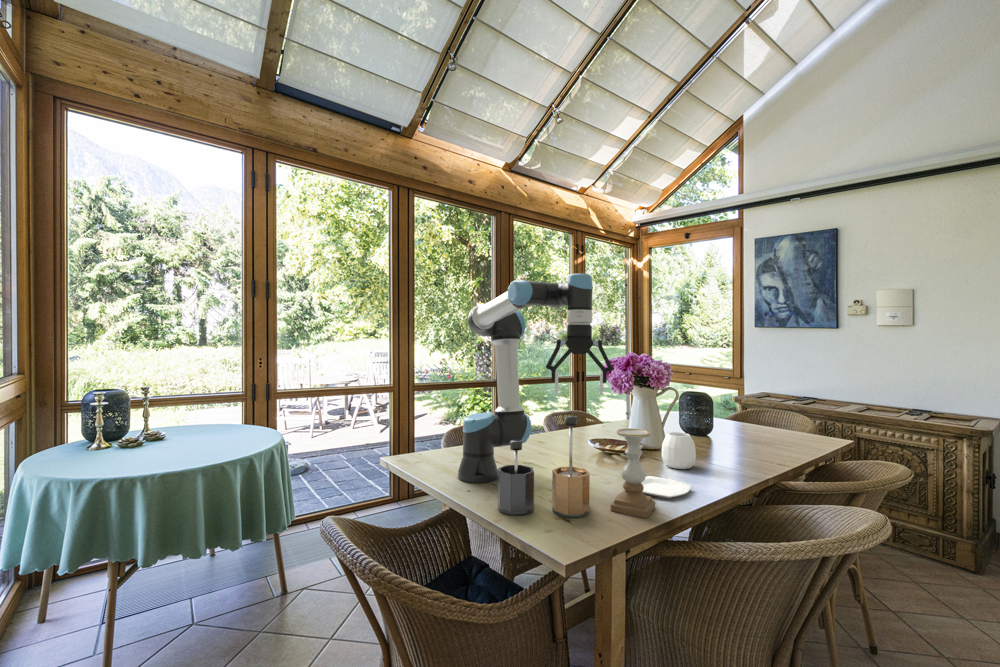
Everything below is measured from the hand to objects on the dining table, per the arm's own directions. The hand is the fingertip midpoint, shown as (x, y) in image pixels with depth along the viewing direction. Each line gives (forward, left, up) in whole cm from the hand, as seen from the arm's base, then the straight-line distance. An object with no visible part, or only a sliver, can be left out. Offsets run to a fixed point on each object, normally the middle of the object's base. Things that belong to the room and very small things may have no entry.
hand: (578, 393), depth 143 cm
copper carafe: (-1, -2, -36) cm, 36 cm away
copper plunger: (-1, -3, -26) cm, 26 cm away
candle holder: (+13, +11, -36) cm, 40 cm away
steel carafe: (-15, -11, -36) cm, 40 cm away
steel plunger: (-15, -12, -33) cm, 39 cm away
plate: (+13, +34, -36) cm, 51 cm away
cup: (+9, +68, -36) cm, 77 cm away
